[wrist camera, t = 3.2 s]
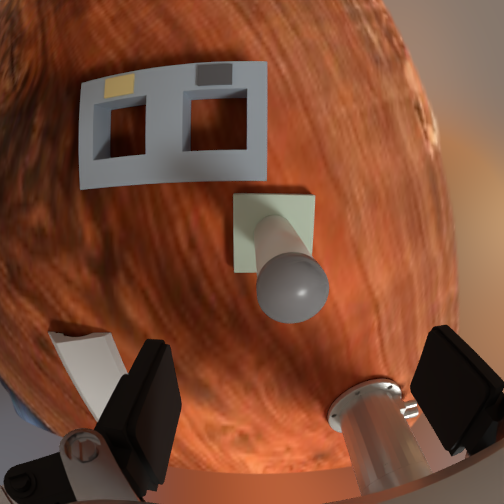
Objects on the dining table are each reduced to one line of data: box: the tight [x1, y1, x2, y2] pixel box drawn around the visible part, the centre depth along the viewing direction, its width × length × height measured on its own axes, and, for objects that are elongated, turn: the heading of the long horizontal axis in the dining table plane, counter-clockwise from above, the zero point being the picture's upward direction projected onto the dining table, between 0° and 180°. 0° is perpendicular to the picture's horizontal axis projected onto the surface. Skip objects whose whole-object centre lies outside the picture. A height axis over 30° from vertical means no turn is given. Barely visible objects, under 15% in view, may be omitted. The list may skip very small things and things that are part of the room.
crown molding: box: [48, 332, 128, 422], centre depth 37 cm, size 29×12×4 cm, turn 7°
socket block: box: [79, 61, 267, 190], centre depth 24 cm, size 18×11×4 cm, turn 90°
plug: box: [254, 215, 329, 323], centre depth 23 cm, size 4×4×13 cm
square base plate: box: [233, 193, 315, 273], centre depth 29 cm, size 8×8×1 cm
